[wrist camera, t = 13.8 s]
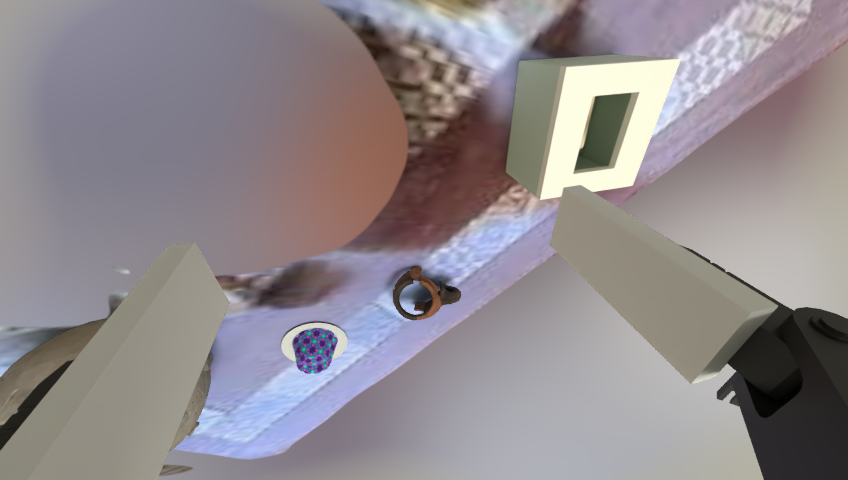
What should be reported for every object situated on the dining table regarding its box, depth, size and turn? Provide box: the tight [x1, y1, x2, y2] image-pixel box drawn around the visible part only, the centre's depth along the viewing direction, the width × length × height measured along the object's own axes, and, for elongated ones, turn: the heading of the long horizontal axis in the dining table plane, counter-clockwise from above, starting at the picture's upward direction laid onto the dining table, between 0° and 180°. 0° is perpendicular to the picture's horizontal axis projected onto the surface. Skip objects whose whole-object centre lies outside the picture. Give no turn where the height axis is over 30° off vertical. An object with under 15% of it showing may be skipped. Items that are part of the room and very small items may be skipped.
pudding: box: [281, 323, 348, 374], centre depth 56 cm, size 12×12×5 cm
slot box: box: [506, 54, 681, 200], centre depth 40 cm, size 15×14×10 cm
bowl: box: [0, 318, 212, 451], centre depth 44 cm, size 23×23×15 cm
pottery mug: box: [393, 267, 461, 320], centre depth 54 cm, size 12×10×8 cm
